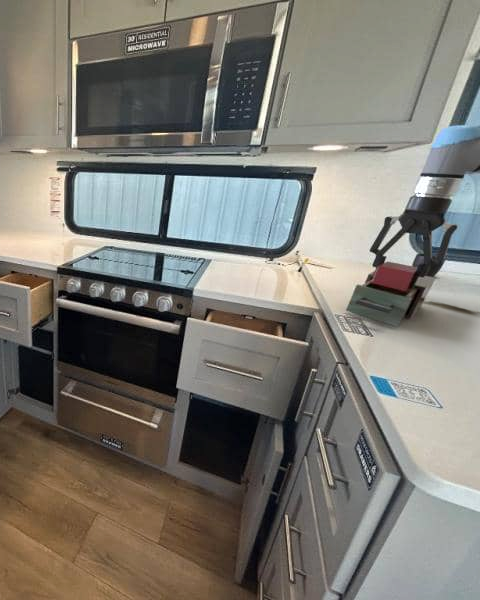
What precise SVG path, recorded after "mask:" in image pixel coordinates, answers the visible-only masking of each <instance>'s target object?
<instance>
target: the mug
mask: <svg viewBox="0 0 480 600" xmlns="http://www.w3.org/2000/svg"><path fill="white" fill-rule="evenodd" d="M436 258H437V255H434V254H432V260H436ZM446 260H447V258H445V259H444V262H443V263H442V264H441V265H432V266H430V268H429V270H428V272H427V274H426V276H429V277H434V278H435V276H436V275H437V274H438V273H439V272H440V271H441V270H442V267H443V266H444V264H445V262H446ZM421 263H423V264H424V253H416V255H415V257H414V260H413V261H412V265H411V266H413V267H418V266H419V264H421Z"/></svg>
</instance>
